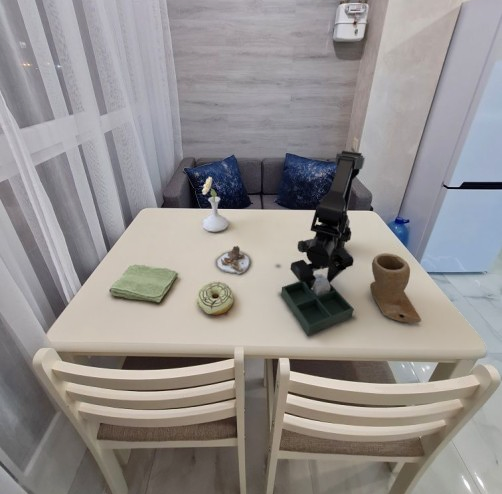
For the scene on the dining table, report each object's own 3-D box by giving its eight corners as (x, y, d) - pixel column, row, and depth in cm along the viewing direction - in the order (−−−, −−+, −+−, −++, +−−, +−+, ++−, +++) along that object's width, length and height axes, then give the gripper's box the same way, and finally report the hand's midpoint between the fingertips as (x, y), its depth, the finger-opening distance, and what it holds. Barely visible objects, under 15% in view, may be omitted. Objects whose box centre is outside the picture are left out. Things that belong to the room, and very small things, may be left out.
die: (329, 295, 81) (331, 283, 79) (315, 300, 79) (317, 287, 77) (319, 284, 85) (321, 272, 83) (306, 288, 84) (308, 276, 82)
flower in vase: (207, 219, 122) (203, 168, 111) (231, 221, 120) (229, 170, 110) (198, 235, 110) (193, 180, 99) (224, 237, 109) (222, 182, 98)
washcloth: (161, 305, 78) (159, 298, 76) (107, 297, 80) (105, 289, 79) (180, 274, 89) (179, 267, 88) (132, 267, 92) (130, 260, 91)
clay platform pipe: (359, 283, 87) (368, 246, 80) (396, 285, 86) (409, 248, 80) (376, 323, 73) (388, 283, 67) (420, 326, 72) (437, 286, 66)
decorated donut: (207, 323, 72) (206, 314, 71) (192, 298, 80) (191, 288, 79) (239, 306, 78) (239, 297, 76) (222, 283, 86) (221, 275, 84)
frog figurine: (222, 249, 102) (222, 241, 100) (252, 254, 99) (252, 246, 98) (212, 270, 91) (211, 261, 90) (246, 275, 89) (246, 266, 88)
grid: (320, 281, 87) (321, 274, 86) (351, 317, 75) (354, 309, 73) (281, 295, 82) (281, 286, 80) (308, 335, 69) (309, 327, 68)
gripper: (333, 223, 84) (327, 261, 91) (282, 235, 78) (279, 276, 84) (359, 242, 75) (349, 283, 82) (303, 258, 68) (298, 302, 75)
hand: (318, 285), depth 81 cm, fingers open, 7 cm apart
